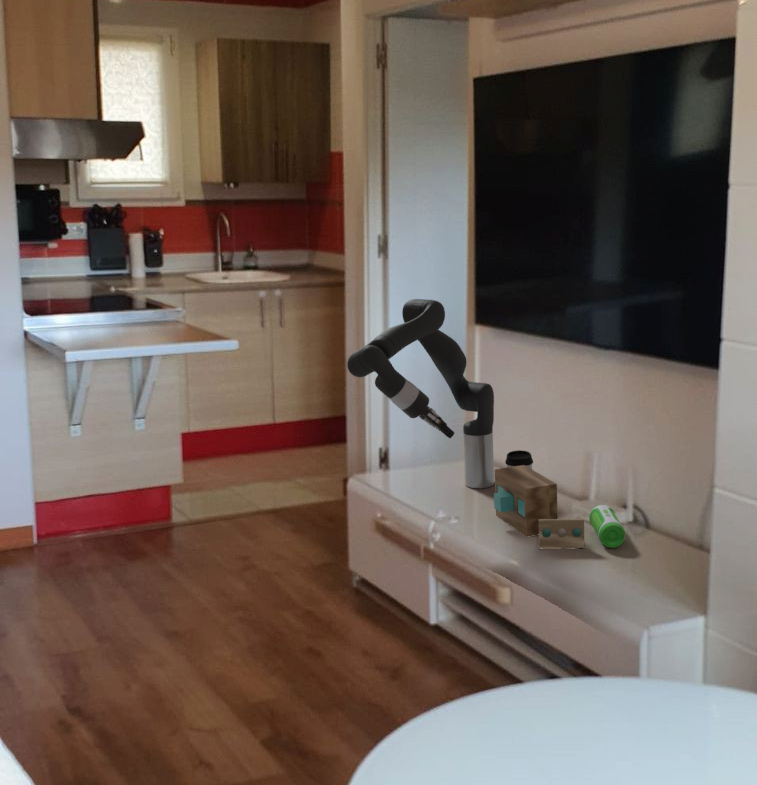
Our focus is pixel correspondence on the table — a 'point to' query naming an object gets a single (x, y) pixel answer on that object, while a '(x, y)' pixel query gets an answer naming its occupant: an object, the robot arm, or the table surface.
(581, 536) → the board
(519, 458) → the coffee cup
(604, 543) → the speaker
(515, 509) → the button panel
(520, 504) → the button
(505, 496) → the button middle
